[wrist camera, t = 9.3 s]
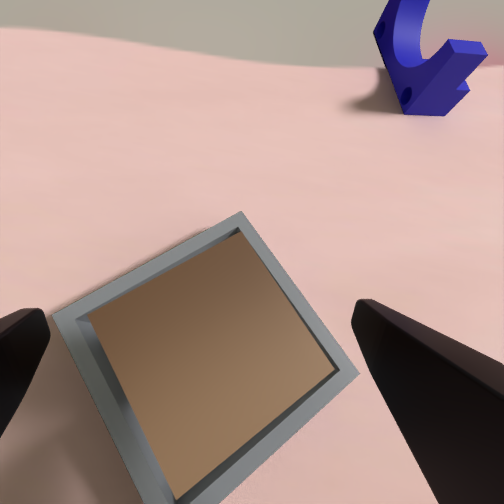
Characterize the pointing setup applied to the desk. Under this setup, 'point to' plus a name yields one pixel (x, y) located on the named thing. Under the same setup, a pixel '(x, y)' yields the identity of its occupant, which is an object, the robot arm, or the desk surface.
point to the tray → (121, 413)
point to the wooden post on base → (208, 357)
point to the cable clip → (423, 61)
